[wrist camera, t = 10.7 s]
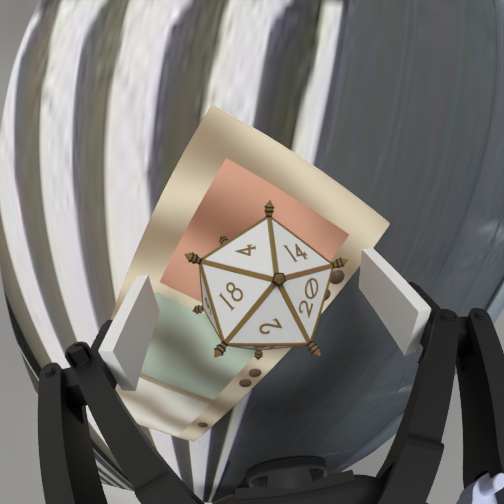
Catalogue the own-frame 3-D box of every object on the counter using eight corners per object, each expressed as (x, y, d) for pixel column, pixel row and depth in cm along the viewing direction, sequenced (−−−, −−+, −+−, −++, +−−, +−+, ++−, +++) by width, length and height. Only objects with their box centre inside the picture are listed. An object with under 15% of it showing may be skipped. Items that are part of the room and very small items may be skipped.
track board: (194, 434, 32) (193, 442, 30) (90, 395, 27) (87, 402, 26) (382, 218, 20) (390, 224, 19) (213, 106, 16) (211, 104, 15)
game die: (245, 215, 22) (261, 142, 12) (331, 281, 21) (405, 254, 12) (172, 306, 20) (127, 299, 10) (264, 375, 19) (297, 424, 10)
